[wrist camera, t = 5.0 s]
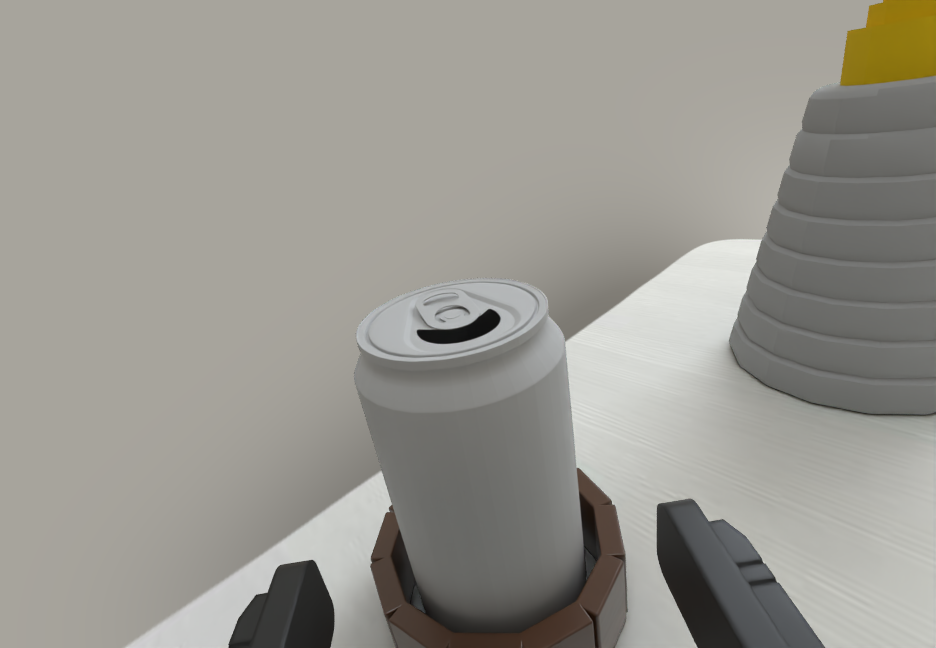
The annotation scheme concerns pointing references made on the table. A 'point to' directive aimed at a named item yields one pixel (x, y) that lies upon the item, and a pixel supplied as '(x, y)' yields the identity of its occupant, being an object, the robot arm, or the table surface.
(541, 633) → the can holder
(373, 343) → the beverage can
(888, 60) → the soap bottle
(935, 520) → the table surface
